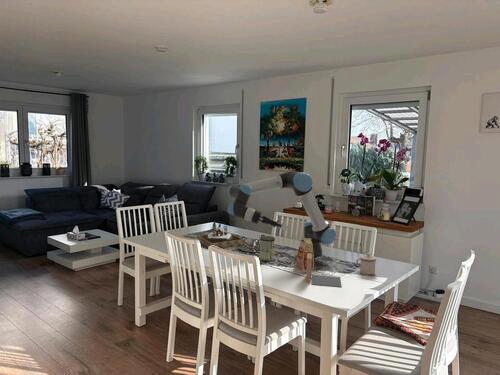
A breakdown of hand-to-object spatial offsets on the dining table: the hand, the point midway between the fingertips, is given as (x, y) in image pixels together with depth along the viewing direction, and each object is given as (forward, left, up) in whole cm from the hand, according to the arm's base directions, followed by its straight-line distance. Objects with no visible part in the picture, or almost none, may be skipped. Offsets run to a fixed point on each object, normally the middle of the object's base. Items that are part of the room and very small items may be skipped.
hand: (287, 228), depth 218 cm
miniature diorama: (+3, -84, -28) cm, 88 cm away
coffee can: (-7, -32, -28) cm, 43 cm away
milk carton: (-17, -4, -28) cm, 33 cm away
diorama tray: (+3, -83, -28) cm, 88 cm away
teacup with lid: (-46, +18, -28) cm, 57 cm away
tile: (-6, +13, -28) cm, 31 cm away
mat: (-14, +19, -28) cm, 37 cm away
